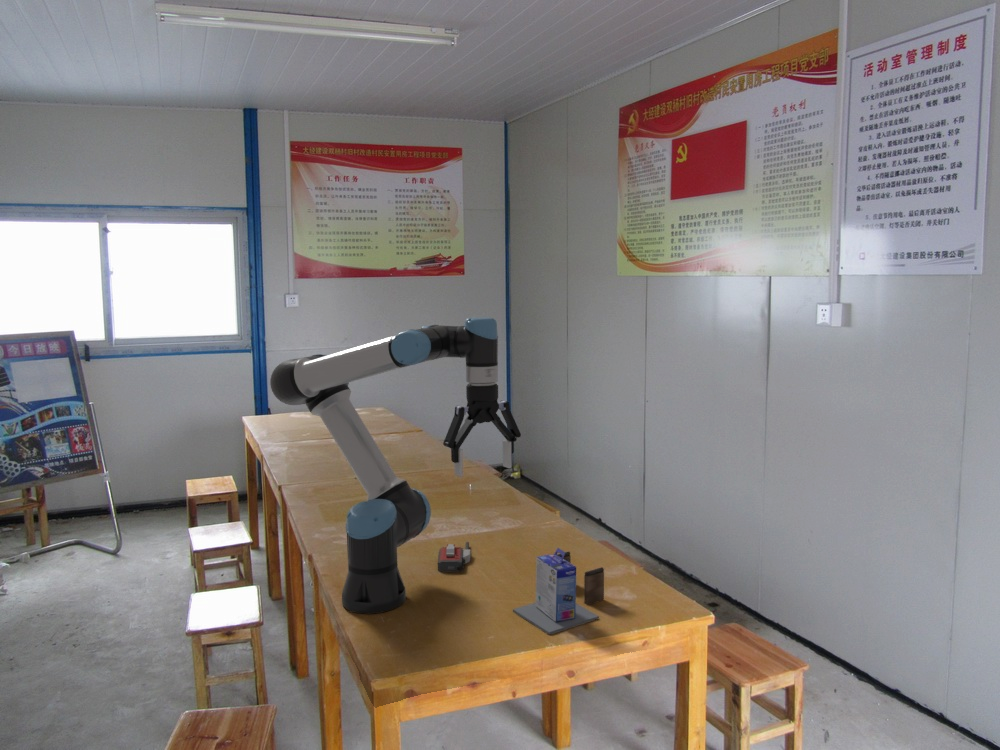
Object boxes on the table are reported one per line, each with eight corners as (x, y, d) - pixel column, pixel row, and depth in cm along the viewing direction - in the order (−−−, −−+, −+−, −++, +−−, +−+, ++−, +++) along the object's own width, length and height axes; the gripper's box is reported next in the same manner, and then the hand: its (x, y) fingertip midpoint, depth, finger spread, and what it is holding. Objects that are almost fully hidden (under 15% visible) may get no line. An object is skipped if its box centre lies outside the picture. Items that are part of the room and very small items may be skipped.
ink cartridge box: (577, 618, 172) (577, 556, 170) (556, 623, 170) (556, 560, 168) (555, 602, 181) (555, 542, 179) (534, 606, 178) (534, 546, 176)
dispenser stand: (587, 604, 180) (587, 572, 179) (551, 585, 192) (551, 554, 191) (603, 599, 183) (604, 568, 182) (567, 580, 195) (567, 550, 194)
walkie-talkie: (470, 574, 201) (471, 547, 221) (470, 557, 200) (470, 532, 220) (436, 574, 201) (440, 548, 220) (436, 558, 200) (440, 533, 220)
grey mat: (549, 634, 166) (549, 632, 165) (512, 611, 177) (512, 609, 177) (598, 618, 173) (598, 616, 173) (560, 597, 185) (560, 594, 185)
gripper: (443, 390, 171) (445, 482, 173) (534, 380, 184) (535, 466, 187) (427, 386, 177) (429, 475, 180) (517, 377, 190) (517, 460, 193)
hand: (483, 471), depth 183 cm, fingers open, 13 cm apart
